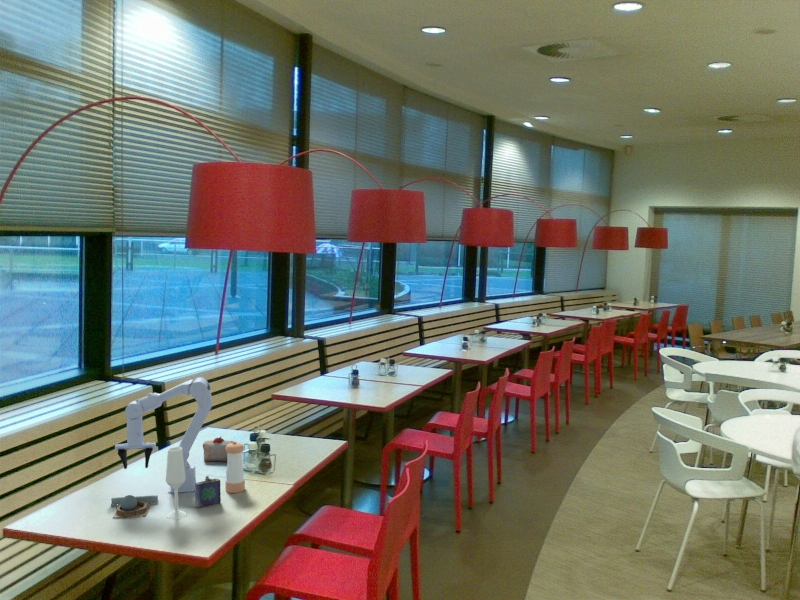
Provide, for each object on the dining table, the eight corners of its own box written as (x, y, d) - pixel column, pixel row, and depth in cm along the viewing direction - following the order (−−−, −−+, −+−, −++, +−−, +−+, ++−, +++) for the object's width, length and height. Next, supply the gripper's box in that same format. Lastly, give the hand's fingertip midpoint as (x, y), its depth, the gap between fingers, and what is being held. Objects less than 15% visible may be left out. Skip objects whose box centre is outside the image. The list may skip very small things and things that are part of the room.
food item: (200, 462, 307) (200, 440, 306) (207, 456, 315) (206, 434, 314) (231, 463, 306) (231, 441, 305) (237, 457, 314) (236, 435, 313)
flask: (196, 508, 256) (195, 479, 255) (194, 506, 259) (193, 477, 258) (221, 503, 261) (221, 475, 260) (219, 501, 263) (218, 473, 262)
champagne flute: (163, 514, 251) (162, 448, 248) (182, 510, 255) (181, 444, 252) (170, 520, 245) (168, 453, 243) (189, 516, 250) (188, 449, 247)
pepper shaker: (248, 489, 275) (247, 441, 273) (232, 494, 270) (231, 445, 268) (237, 484, 280) (237, 437, 278) (221, 489, 275) (220, 441, 273)
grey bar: (158, 500, 263) (158, 494, 263) (157, 503, 260) (156, 497, 260) (112, 503, 261) (112, 496, 260) (110, 506, 258) (110, 499, 257)
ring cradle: (151, 504, 260) (150, 499, 259) (145, 516, 249) (145, 511, 249) (119, 506, 258) (119, 501, 257) (112, 518, 247) (112, 513, 247)
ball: (141, 503, 256) (134, 490, 255) (138, 509, 251) (131, 495, 250) (126, 510, 256) (119, 496, 255) (123, 516, 250) (116, 502, 249)
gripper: (112, 436, 265) (113, 472, 266) (153, 435, 268) (154, 470, 269) (116, 431, 272) (117, 466, 273) (156, 429, 274) (157, 464, 276)
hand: (136, 467), depth 272 cm, fingers open, 7 cm apart
